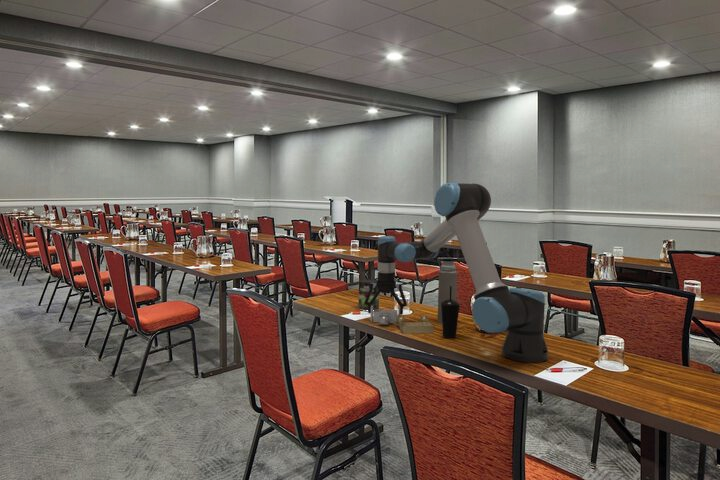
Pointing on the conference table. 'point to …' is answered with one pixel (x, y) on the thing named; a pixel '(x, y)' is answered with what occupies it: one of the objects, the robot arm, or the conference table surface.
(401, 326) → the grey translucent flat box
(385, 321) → the grey mechanical part
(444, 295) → the thermos bottle
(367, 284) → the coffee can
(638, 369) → the conference table surface
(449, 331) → the drinking cup
